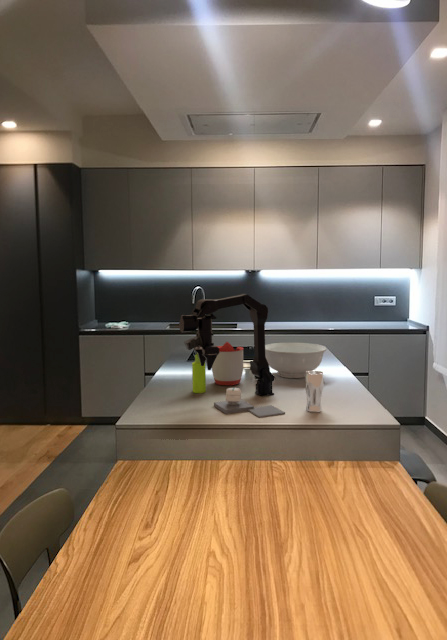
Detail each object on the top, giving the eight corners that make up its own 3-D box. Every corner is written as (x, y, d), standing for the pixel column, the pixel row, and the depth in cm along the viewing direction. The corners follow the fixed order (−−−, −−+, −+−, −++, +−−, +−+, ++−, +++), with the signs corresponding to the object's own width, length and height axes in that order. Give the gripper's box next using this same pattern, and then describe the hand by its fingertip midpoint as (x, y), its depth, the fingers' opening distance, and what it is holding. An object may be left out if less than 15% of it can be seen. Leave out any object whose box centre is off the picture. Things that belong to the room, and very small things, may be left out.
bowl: (307, 366, 279) (307, 340, 278) (337, 379, 249) (338, 349, 247) (252, 371, 270) (252, 343, 268) (277, 384, 239) (277, 354, 237)
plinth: (241, 402, 209) (240, 389, 209) (253, 410, 198) (253, 396, 198) (213, 405, 205) (213, 392, 204) (225, 413, 194) (225, 399, 193)
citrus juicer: (250, 380, 249) (250, 339, 246) (236, 388, 233) (235, 345, 231) (221, 377, 255) (220, 338, 253) (205, 385, 239) (205, 343, 237)
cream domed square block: (227, 397, 204) (227, 386, 204) (241, 397, 204) (241, 387, 203) (225, 401, 199) (225, 390, 198) (239, 401, 198) (239, 390, 198)
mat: (271, 406, 203) (271, 405, 203) (285, 413, 193) (285, 412, 193) (246, 409, 199) (246, 408, 199) (259, 417, 189) (259, 416, 189)
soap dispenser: (206, 393, 224) (205, 348, 222) (191, 392, 226) (190, 348, 223) (209, 390, 230) (208, 346, 228) (194, 389, 231) (193, 346, 229)
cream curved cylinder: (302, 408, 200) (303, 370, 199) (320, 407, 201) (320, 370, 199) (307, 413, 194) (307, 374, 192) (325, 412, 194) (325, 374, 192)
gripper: (180, 328, 214) (180, 365, 215) (192, 334, 196) (193, 374, 198) (205, 327, 217) (206, 363, 219) (219, 332, 200) (220, 371, 202)
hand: (205, 367), depth 209 cm, fingers open, 9 cm apart
